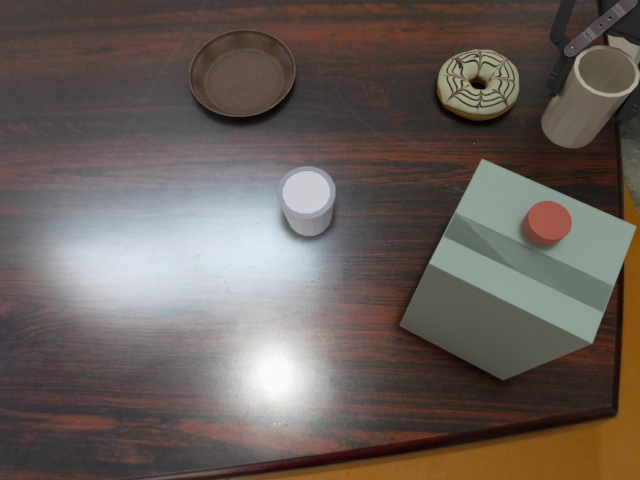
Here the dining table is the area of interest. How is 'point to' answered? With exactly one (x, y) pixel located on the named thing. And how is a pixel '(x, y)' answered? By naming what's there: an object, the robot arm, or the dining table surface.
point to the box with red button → (516, 277)
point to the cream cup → (590, 95)
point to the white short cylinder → (307, 199)
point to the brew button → (547, 223)
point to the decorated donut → (482, 69)
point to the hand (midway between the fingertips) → (583, 108)
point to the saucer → (242, 73)
